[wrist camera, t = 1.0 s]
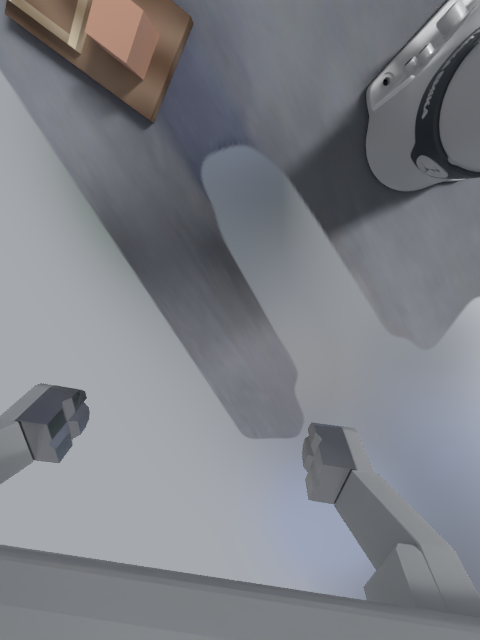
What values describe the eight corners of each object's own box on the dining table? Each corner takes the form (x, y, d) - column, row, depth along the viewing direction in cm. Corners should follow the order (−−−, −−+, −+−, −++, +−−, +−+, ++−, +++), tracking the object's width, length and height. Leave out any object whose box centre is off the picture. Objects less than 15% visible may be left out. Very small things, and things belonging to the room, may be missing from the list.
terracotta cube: (122, 5, 31) (99, -26, 27) (159, 35, 32) (143, 10, 28) (108, 53, 33) (84, 31, 29) (143, 80, 34) (126, 63, 30)
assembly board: (36, -109, 29) (16, -137, 27) (193, 23, 33) (188, 9, 30) (14, 20, 34) (-4, 7, 31) (153, 122, 38) (146, 118, 35)
